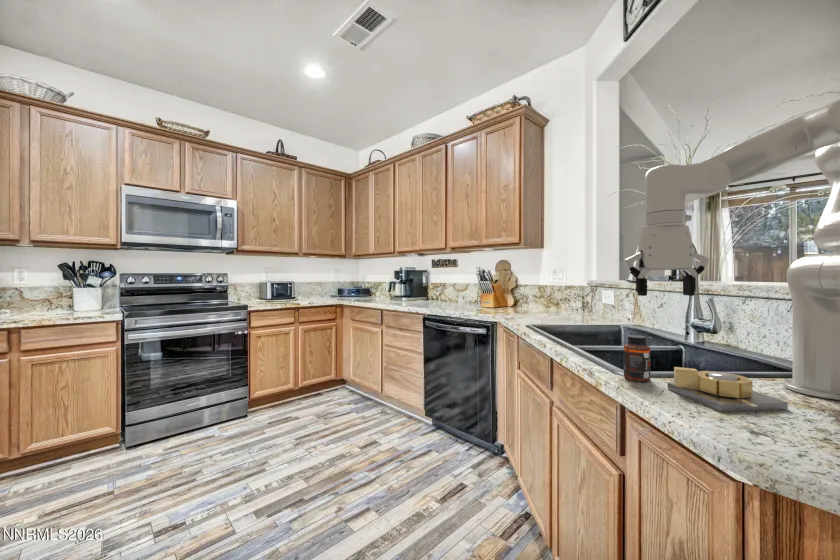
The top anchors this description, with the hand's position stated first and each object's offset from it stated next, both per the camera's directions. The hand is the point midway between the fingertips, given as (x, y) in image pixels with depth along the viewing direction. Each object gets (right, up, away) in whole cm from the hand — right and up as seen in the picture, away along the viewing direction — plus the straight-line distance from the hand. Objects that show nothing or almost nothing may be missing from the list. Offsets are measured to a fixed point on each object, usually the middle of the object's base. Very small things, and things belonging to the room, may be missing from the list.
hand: (665, 295), depth 80 cm
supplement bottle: (0, -23, +11) cm, 25 cm away
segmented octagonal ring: (+8, -21, -3) cm, 22 cm away
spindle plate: (+10, -23, -4) cm, 25 cm away
